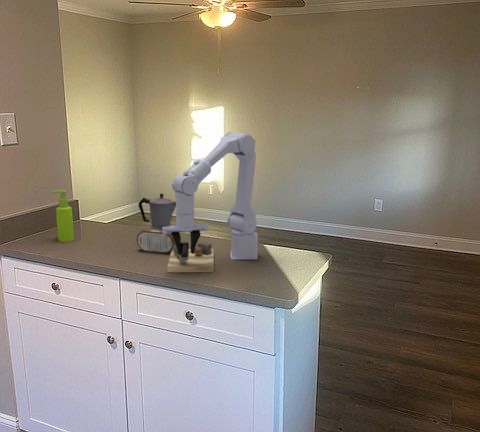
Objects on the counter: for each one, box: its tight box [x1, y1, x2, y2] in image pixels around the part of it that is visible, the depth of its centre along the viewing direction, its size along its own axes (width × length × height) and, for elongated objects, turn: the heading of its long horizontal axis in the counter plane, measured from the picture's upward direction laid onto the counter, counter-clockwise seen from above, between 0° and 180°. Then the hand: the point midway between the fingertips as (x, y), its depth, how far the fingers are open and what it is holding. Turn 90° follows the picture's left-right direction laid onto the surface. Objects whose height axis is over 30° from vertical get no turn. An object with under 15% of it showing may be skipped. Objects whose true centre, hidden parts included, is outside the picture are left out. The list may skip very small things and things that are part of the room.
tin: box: [136, 228, 175, 254], centre depth 181 cm, size 15×3×8 cm, turn 74°
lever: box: [173, 241, 190, 261], centre depth 168 cm, size 18×4×7 cm, turn 15°
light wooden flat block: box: [166, 241, 215, 273], centre depth 170 cm, size 19×15×6 cm
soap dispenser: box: [51, 189, 75, 243], centre depth 194 cm, size 6×7×20 cm
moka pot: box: [138, 193, 176, 230], centre depth 189 cm, size 10×15×20 cm, turn 89°
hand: (185, 253), depth 161 cm, fingers open, 4 cm apart
